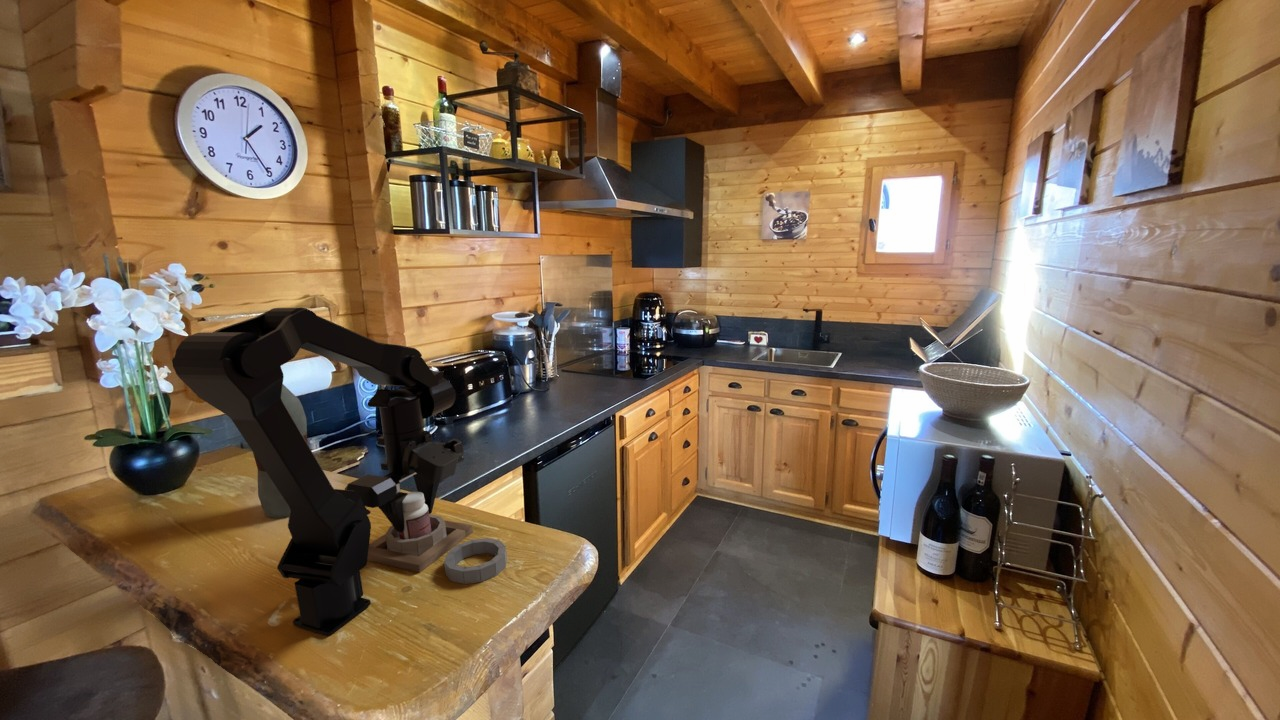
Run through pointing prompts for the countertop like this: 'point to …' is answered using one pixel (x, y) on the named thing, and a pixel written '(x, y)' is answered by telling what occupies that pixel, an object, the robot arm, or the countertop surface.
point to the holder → (480, 571)
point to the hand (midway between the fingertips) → (414, 522)
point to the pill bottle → (415, 516)
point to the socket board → (418, 545)
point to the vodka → (266, 488)
